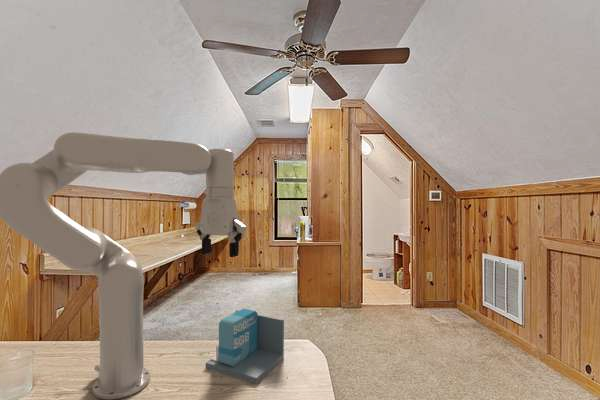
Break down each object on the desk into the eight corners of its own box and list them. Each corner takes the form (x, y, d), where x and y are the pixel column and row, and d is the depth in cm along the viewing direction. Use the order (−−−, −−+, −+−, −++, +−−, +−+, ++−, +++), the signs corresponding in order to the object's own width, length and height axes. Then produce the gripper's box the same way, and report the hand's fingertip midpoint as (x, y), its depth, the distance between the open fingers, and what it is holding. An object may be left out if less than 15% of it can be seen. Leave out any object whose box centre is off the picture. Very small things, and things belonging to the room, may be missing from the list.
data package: (231, 368, 88) (231, 323, 88) (218, 364, 91) (218, 320, 90) (257, 349, 99) (258, 309, 99) (245, 346, 101) (245, 306, 101)
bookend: (210, 360, 93) (210, 343, 93) (232, 345, 102) (232, 330, 102) (218, 362, 92) (218, 346, 92) (240, 347, 101) (240, 332, 101)
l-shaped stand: (205, 368, 92) (205, 326, 91) (236, 346, 104) (237, 309, 104) (256, 383, 84) (256, 338, 84) (283, 358, 97) (283, 319, 97)
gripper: (186, 193, 94) (186, 254, 95) (237, 194, 87) (236, 260, 87) (205, 193, 101) (205, 250, 102) (253, 194, 93) (253, 255, 94)
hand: (219, 254), depth 94 cm, fingers open, 9 cm apart
